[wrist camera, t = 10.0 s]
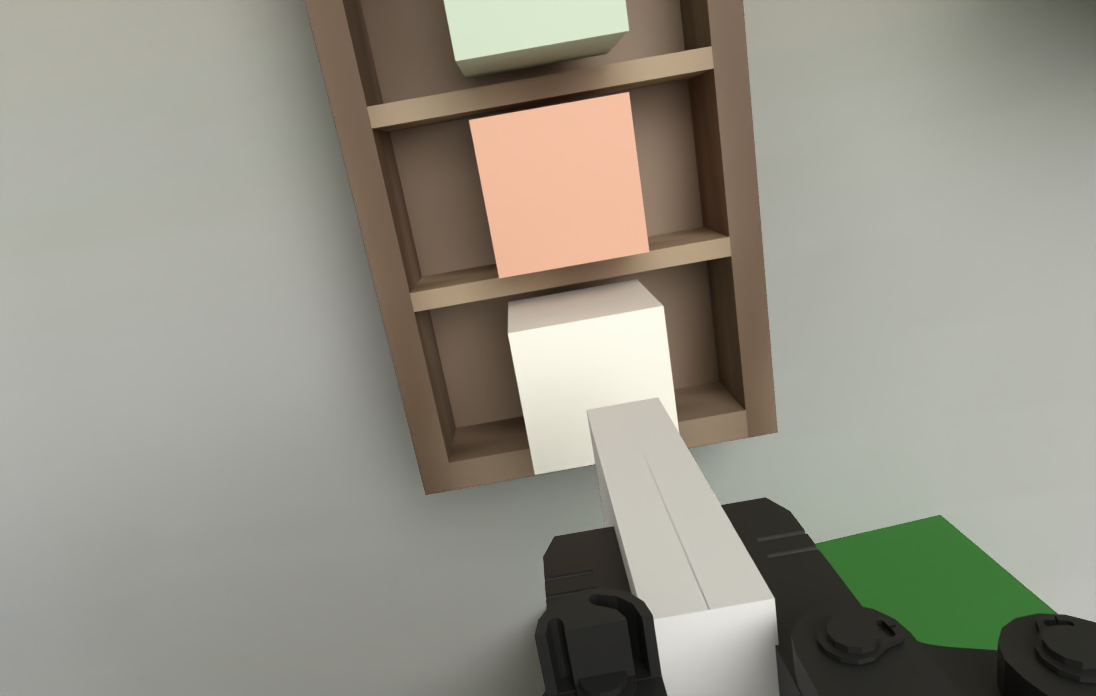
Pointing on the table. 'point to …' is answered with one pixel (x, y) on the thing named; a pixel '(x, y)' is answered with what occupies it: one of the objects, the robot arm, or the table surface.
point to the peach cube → (561, 184)
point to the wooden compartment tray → (482, 297)
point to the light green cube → (531, 32)
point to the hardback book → (932, 582)
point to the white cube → (585, 364)
